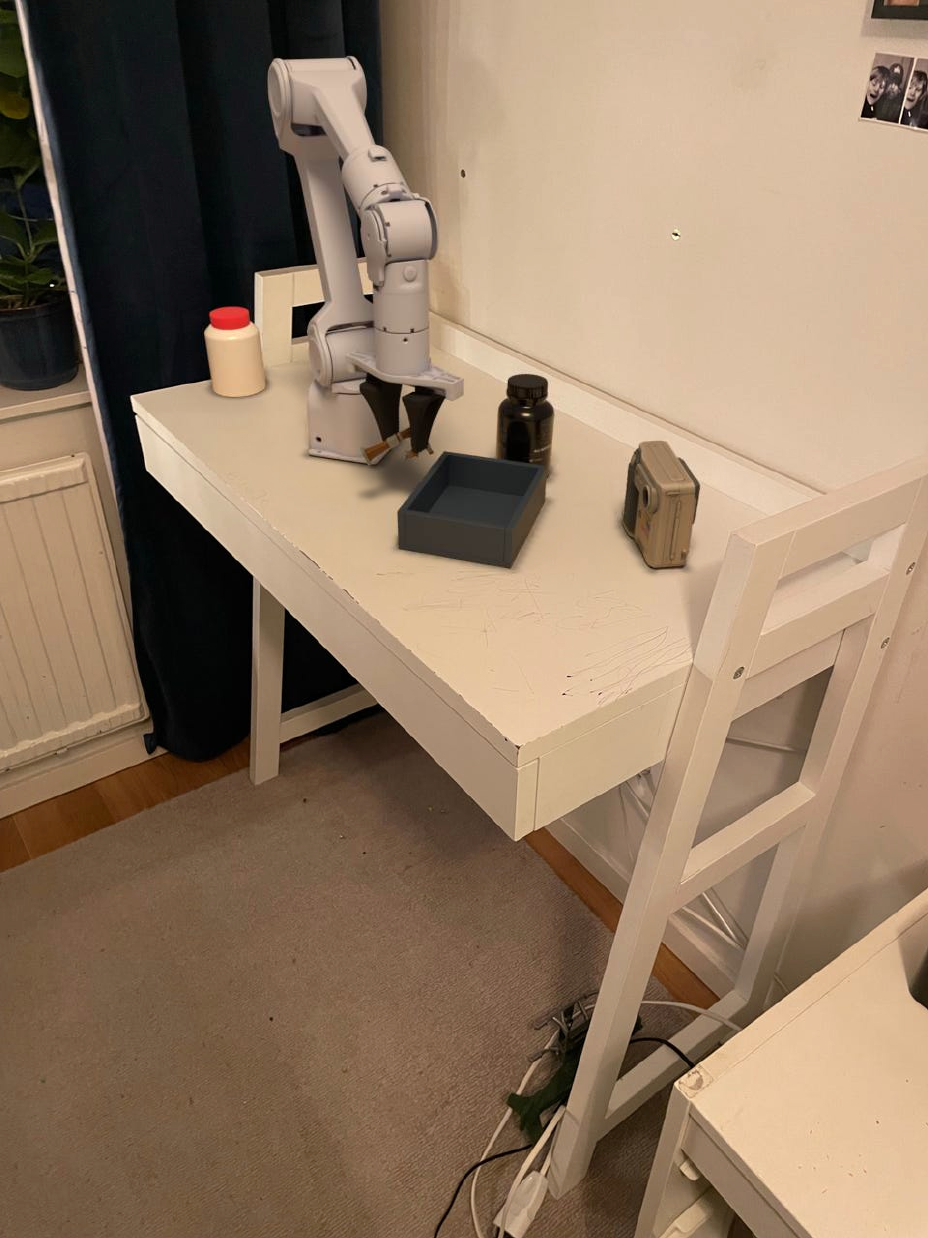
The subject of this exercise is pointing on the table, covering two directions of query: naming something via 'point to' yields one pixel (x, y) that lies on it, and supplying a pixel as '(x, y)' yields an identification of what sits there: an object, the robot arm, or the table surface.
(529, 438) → the supplement bottle
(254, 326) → the pill bottle
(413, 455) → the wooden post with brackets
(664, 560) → the camera
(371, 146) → the robot arm
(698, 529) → the table surface
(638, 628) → the table surface
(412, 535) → the bin
